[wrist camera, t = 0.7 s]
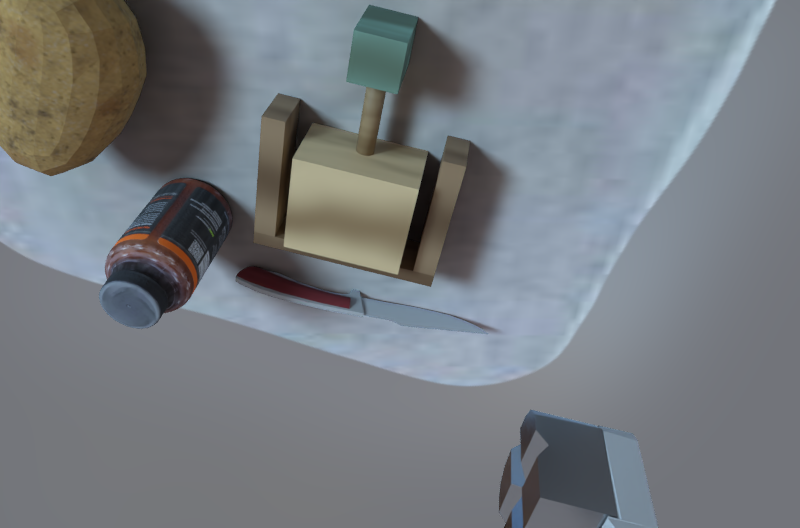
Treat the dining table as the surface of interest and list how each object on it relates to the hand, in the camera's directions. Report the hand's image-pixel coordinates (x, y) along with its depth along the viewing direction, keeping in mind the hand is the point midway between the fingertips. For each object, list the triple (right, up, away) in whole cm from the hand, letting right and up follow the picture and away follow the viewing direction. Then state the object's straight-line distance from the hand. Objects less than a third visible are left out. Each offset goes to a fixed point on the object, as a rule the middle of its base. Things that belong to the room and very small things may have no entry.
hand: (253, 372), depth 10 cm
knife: (-1, 0, +44) cm, 44 cm away
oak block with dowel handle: (0, +11, +34) cm, 36 cm away
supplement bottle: (-13, +6, +41) cm, 43 cm away
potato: (-18, +16, +34) cm, 41 cm away
